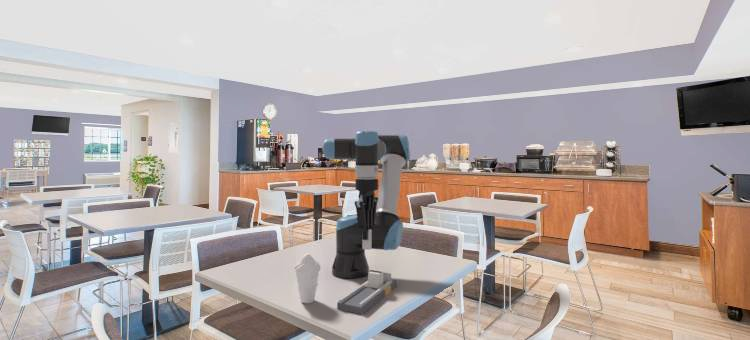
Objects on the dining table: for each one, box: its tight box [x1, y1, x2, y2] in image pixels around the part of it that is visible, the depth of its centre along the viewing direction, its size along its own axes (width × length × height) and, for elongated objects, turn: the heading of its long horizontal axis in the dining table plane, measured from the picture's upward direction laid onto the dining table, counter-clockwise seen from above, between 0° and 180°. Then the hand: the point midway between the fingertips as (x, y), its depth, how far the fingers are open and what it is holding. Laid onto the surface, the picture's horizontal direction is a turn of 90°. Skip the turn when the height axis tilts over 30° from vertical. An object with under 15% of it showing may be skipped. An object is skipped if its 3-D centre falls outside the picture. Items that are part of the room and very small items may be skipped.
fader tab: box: [367, 269, 384, 289], centre depth 127 cm, size 4×4×5 cm
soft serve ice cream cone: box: [294, 252, 321, 304], centre depth 118 cm, size 8×8×16 cm
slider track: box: [336, 271, 398, 315], centre depth 123 cm, size 9×27×5 cm, turn 154°
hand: (366, 248), depth 121 cm, fingers closed
